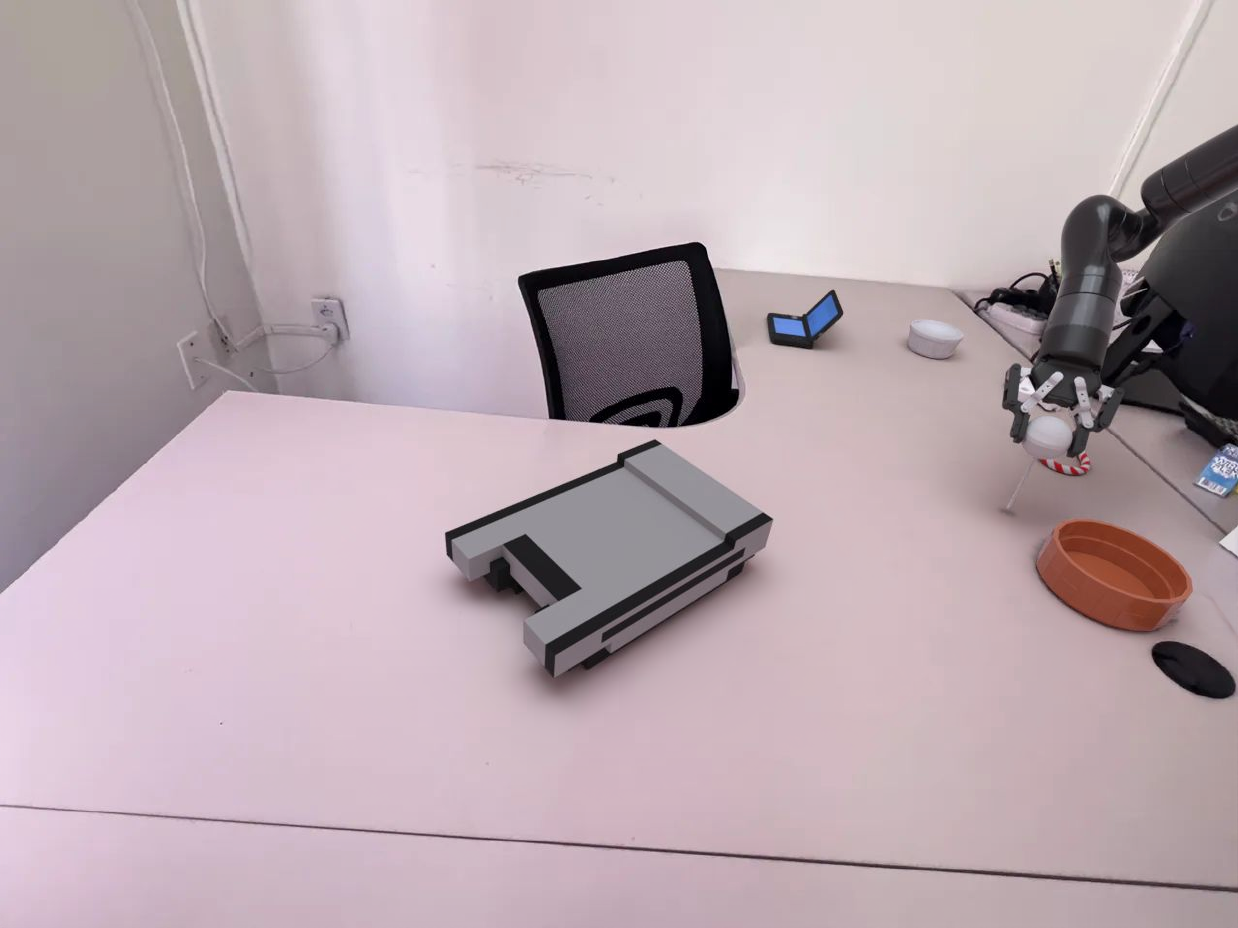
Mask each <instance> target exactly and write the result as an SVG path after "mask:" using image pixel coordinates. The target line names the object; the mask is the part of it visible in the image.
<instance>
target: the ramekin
mask: <svg viewBox="0 0 1238 928" xmlns="http://www.w3.org/2000/svg"><path fill="white" fill-rule="evenodd" d="M964 337H965V334H964V332H962V330H960V328H958V327H956V326H954V325H951V324H950V323H946V322H943V321H938V320H934V319H915V320H912V321H911V322H910V324H909V331H908V338H907V346H908V348H909V350H911V351H912V352H913V353H916V354H918V355H920V356H923V357H924V358H925V357H926V358H930V359H936V360H937V359H938V360H942V359H943V360H944V359H947V358H949V357H951V356H952V355H954V353H955V351H956V350H957V348H958V346H959V345H960V343H961V342H962V341H963V340H964Z"/></svg>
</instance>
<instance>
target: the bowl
mask: <svg viewBox="0 0 1238 928" xmlns="http://www.w3.org/2000/svg"><path fill="white" fill-rule="evenodd" d="M1035 565H1036V567H1037V570H1038V572H1039V573H1038V574H1039V575H1040V578H1042V580H1043V581H1044V583H1045V584H1046V586H1047V587H1048V588H1049V589H1050V590H1051V591H1052V593H1054V595H1055V596H1056V597H1058V598H1059V599H1060V600H1061V601H1062V602H1064V603H1065V604H1067V605H1068V606H1069V607H1070V608H1072V609H1074V610H1075V611H1077V612H1078V613H1080V614H1082V615H1084V616H1086V617H1088V618H1090V619H1092V620H1094V621H1097V622H1098V623H1101V624H1104V625H1107V626H1111V627H1114V628H1117V629H1121V630H1122V629H1123V630H1128V631H1136V632H1137V631H1140V632H1151V631H1154V630H1157V629H1161V628H1163V627H1165V626H1166V625H1167V624H1168V623H1169V622H1170V620H1171V619H1172V618H1173V617H1174V615H1175V614H1176V613H1177V612H1178V610H1180V608H1181V607H1182V606H1183V605H1184V604H1185V603H1186V601H1187V600H1188V599H1189V597H1191V594H1192V593H1193V592H1194V586H1193V581H1192V580H1193V579H1192V578H1191V576H1190V574H1189V573H1188V572H1187V569H1186V568H1185V567H1184V566H1183V565H1182V564H1181V563H1180V562H1179V561H1178V560H1177V559H1176V558H1175V557H1174V556H1173V555H1172V554H1170V553H1169V552H1168V551H1167V550H1166V549H1164V548H1162V547H1161V546H1159V545H1157V544H1156V543H1155V542H1153V541H1152V540H1150V539H1148V538H1146V537H1144V536H1142V535H1140V534H1138V533H1136V532H1134V531H1132V530H1131V529H1127V528H1124V527H1121V526H1120V525H1116V524H1113V523H1111V522H1105V521H1101V520H1098V519H1097V520H1096V519H1091V518H1071V519H1066V520H1062V521H1060V522H1059V523H1058V524H1057V525H1056V526H1055V527H1054V528H1053V530H1052V531H1051V533H1050V534H1049V536H1048V537H1047V539H1046V541H1045V543H1044V544H1043V546H1042V548H1041V549H1040V551H1039V552H1038V554H1037V558H1036V564H1035Z"/></svg>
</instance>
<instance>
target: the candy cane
mask: <svg viewBox="0 0 1238 928" xmlns="http://www.w3.org/2000/svg"><path fill="white" fill-rule="evenodd" d="M1076 457H1077V458H1078V460H1079V462H1080V465H1079V466H1070V465H1065V464H1062V463H1059V462H1057V461H1055V460H1054V459H1047V460H1044V459H1039V460H1040V461H1041V463H1043V465H1045V466H1047V467H1048V468H1050V469H1052V470H1053V471H1055V472H1059V473H1062V474H1064V475H1065V474H1066V475H1071V476H1072V475H1073V476H1078V475H1082V474H1085V473H1087V472H1088V471H1089V469H1090V467H1091V460H1090V457H1089V456H1088V454H1087V453H1086V451H1085V450H1084V451H1083V452H1082V453H1081V454H1079V455H1077V456H1076Z"/></svg>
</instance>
